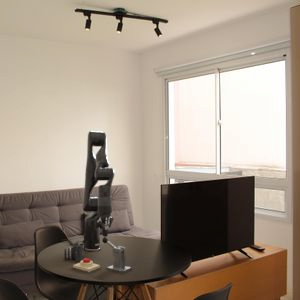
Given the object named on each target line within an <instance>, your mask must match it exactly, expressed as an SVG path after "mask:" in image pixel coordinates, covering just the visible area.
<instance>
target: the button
mask: <svg viewBox="0 0 300 300" xmlns="http://www.w3.org/2000/svg"><path fill="white" fill-rule="evenodd" d="M82 260H83V262H84V263H89V262H90V260H91V258H88V257H84V258H82Z"/></svg>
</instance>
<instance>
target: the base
mask: <svg viewBox="0 0 300 300" xmlns="http://www.w3.org/2000/svg"><path fill="white" fill-rule="evenodd" d="M116 247H117V248H112V265H110V266H107V267H106V269H109V270H113V271H115V272H116V271H117V272H119V273H120V272H121V273H124V272H126V271H129V270H131V269H132V267H131V266H127V265H126V247H125V246H121V245H117V246H116ZM118 247H120V248H121V249H122V250H123V251H122V254H121V249H119V248H118Z"/></svg>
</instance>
